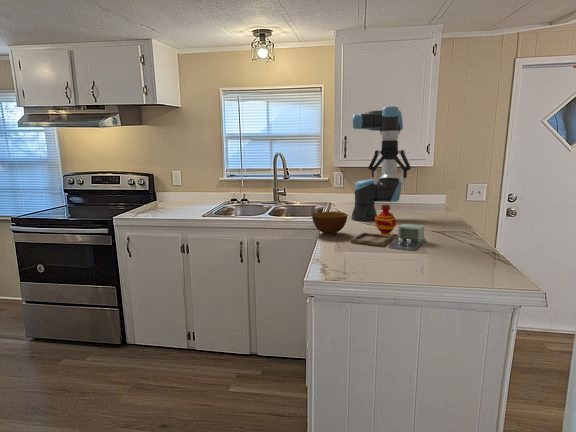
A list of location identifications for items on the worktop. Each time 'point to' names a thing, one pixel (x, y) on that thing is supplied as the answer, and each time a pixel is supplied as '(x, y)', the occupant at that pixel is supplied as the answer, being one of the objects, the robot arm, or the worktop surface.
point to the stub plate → (406, 247)
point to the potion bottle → (385, 220)
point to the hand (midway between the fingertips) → (388, 184)
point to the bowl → (329, 222)
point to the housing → (411, 231)
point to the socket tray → (372, 239)
